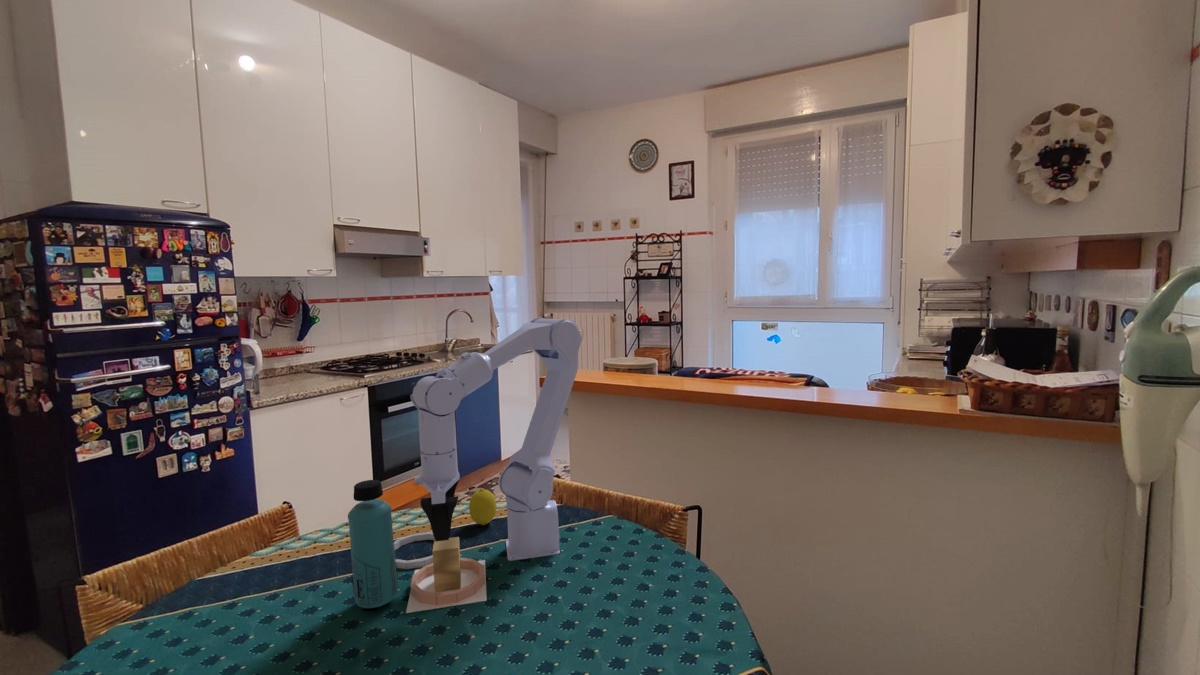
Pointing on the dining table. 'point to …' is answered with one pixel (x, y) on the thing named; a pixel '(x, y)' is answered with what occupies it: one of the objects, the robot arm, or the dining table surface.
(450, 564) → the ochre block
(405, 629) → the dining table surface
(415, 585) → the ring
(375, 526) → the beverage bottle
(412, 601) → the card
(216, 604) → the dining table surface
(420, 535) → the ring
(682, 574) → the dining table surface
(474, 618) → the dining table surface
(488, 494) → the lemon
